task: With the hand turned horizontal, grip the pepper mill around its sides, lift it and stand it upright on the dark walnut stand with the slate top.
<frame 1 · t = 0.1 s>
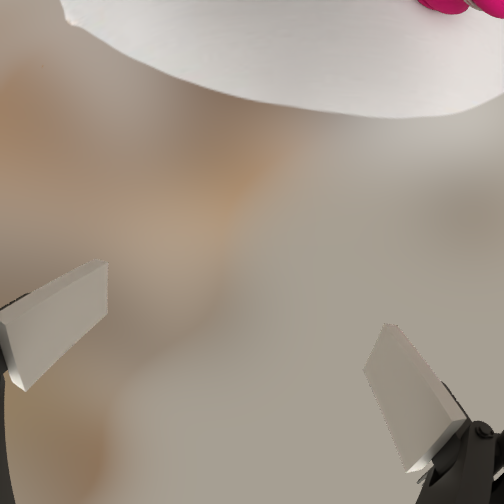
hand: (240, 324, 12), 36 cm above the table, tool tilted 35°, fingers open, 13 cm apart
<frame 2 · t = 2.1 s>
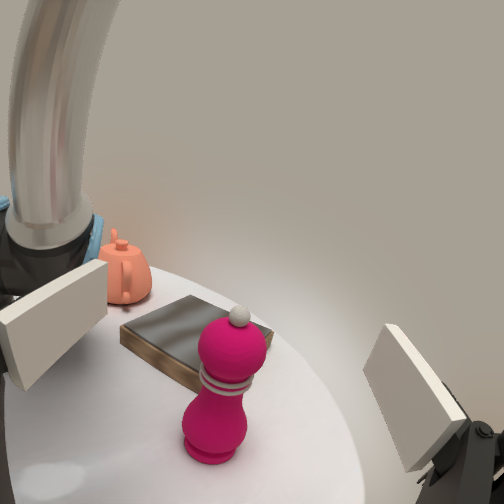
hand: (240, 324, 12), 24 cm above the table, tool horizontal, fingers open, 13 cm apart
teapot: (118, 291, 59), on the table
walnut stand: (198, 347, 47), on the table
pepper mill: (209, 445, 27), on the table
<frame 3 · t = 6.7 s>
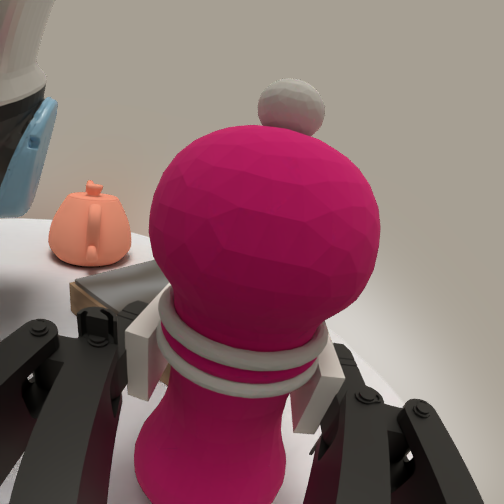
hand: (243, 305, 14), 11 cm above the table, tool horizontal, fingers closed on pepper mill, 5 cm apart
teapot: (88, 254, 43), on the table
walnut stand: (188, 322, 31), on the table
pepper mill: (201, 495, 11), on the table, touching gripper
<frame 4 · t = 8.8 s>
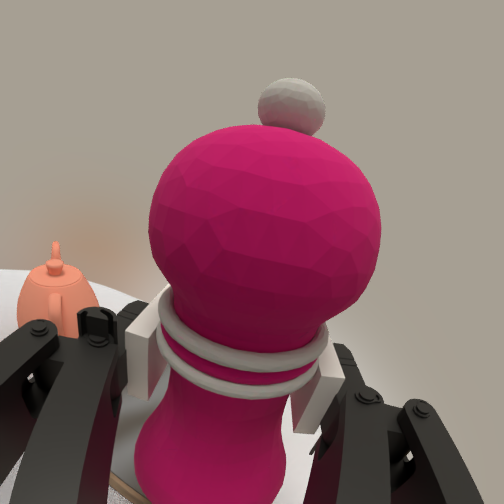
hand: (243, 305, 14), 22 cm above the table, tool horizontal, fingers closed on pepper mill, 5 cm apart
teapot: (60, 328, 37), on the table
walnut stand: (159, 431, 26), on the table
pepper mill: (201, 496, 11), point 11 cm above the table, touching gripper
when the fingers open (16 cm above the table, at t = 11.2 s): pepper mill drops 1 cm, resting on walnut stand.
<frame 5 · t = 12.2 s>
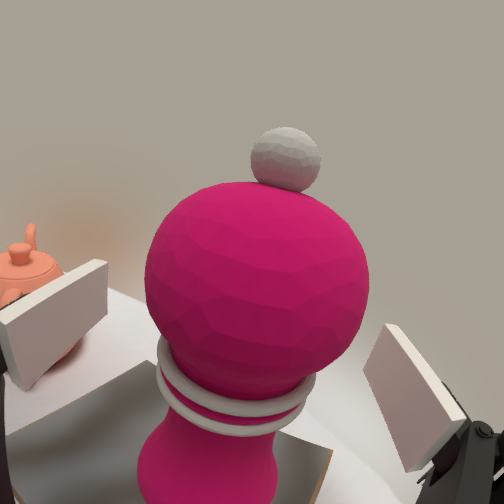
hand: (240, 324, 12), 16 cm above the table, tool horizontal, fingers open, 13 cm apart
teapot: (31, 336, 26), on the table
walnut stand: (162, 496, 14), on the table
pepper mill: (199, 502, 12), point 4 cm above the table, touching walnut stand
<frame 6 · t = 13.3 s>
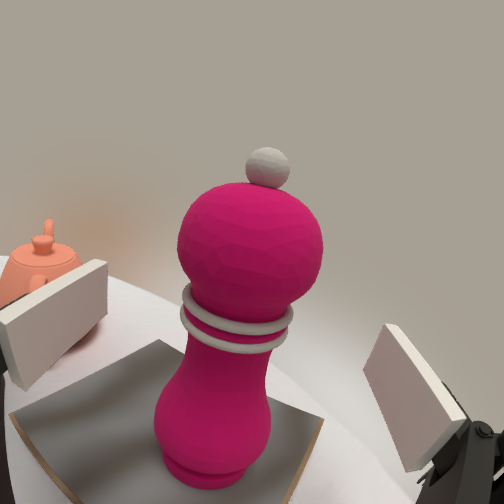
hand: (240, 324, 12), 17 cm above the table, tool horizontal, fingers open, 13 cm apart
teapot: (49, 321, 30), on the table
walnut stand: (171, 459, 18), on the table
pepper mill: (204, 457, 16), point 4 cm above the table, touching walnut stand
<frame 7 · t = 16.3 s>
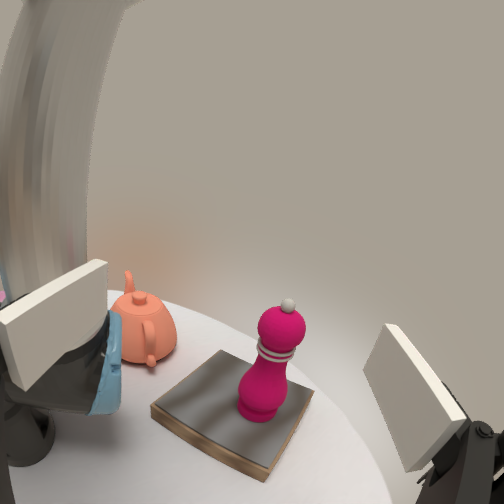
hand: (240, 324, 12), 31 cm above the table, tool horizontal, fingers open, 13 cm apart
teapot: (139, 343, 54), on the table
walnut stand: (236, 414, 41), on the table
pepper mill: (256, 409, 38), point 4 cm above the table, touching walnut stand
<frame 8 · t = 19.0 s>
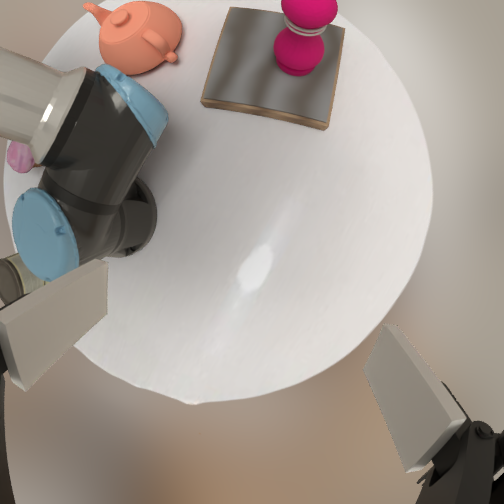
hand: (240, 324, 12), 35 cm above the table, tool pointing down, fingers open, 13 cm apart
teapot: (144, 43, 38), on the table
cupcake: (43, 152, 44), on the table
walnut stand: (276, 65, 39), on the table
pepper mill: (295, 60, 35), point 4 cm above the table, touching walnut stand
coffee can: (47, 264, 50), on the table
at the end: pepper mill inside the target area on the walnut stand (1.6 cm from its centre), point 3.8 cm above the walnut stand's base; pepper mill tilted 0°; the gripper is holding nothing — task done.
